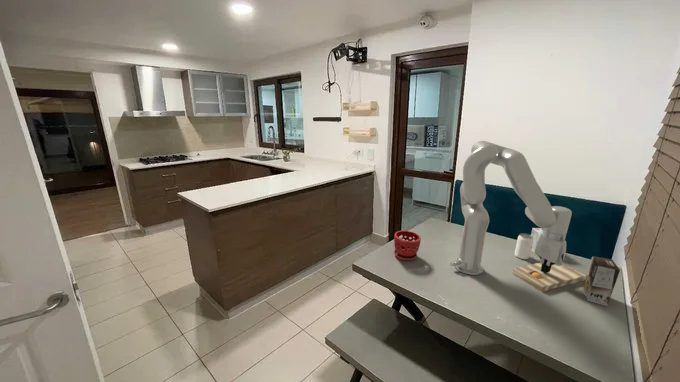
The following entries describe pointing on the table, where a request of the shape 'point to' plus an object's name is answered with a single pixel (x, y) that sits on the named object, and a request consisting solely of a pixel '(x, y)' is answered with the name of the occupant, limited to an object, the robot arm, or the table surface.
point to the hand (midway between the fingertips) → (545, 271)
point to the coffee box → (600, 280)
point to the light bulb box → (536, 235)
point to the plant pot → (406, 245)
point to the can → (524, 246)
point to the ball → (536, 275)
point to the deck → (548, 276)
